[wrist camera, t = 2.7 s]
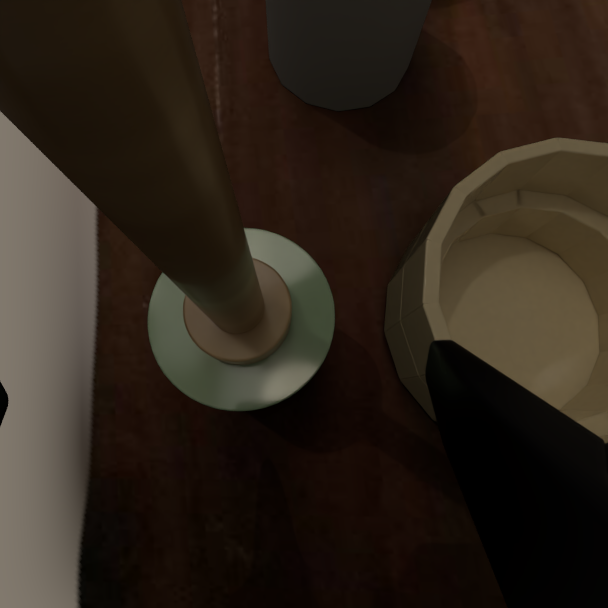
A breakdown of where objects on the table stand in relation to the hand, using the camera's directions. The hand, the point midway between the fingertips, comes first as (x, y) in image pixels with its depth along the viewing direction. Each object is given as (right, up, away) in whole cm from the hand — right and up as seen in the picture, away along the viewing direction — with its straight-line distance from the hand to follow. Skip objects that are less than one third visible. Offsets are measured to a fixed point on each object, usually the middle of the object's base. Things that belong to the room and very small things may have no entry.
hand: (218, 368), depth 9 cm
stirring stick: (0, +1, +5) cm, 5 cm away
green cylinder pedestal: (0, -1, +13) cm, 13 cm away
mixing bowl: (+12, 0, +13) cm, 18 cm away
